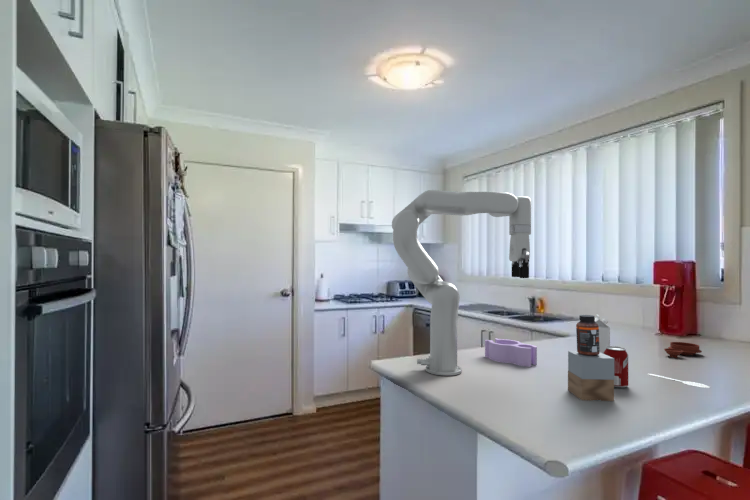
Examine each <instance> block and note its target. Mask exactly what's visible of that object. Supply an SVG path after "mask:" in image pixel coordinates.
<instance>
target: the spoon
mask: <svg viewBox="0 0 750 500" xmlns="http://www.w3.org/2000/svg"><path fill="white" fill-rule="evenodd" d="M647 376H652V377H656V378H661V379H664V380H665V379H666V380H669V381H674V380H675V382H680V383H682V384H684V385H686V386H690V387H695V388H702V389H704V388H705V389H710V388H711V386H709V385H706V384H703V383H699V382H694V381H687V380H685V381H684V380H681V379H680V380H679V379H675V378H672V377H667V376H663V375H658V374H657V373H654V374H653V373H651V372H650V373H647Z"/></svg>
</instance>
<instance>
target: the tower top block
mask: <svg viewBox="0 0 750 500" xmlns="http://www.w3.org/2000/svg"><path fill="white" fill-rule="evenodd" d="M567 354H568V355H567V363H568V364H567V372H568V371H570V372H571V373H573V374H575V375H576V376H578V377H579V378H581V379H602V380H614V358H612V357H610V356H607V355H605V354H603V353H599V354H598V355H595V356H591V355H582V354H579V353H578V352H577V350H568V351H567Z"/></svg>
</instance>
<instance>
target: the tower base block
mask: <svg viewBox="0 0 750 500" xmlns="http://www.w3.org/2000/svg"><path fill="white" fill-rule="evenodd" d="M568 390H569V391H568ZM567 391H568V392H569V393H571V394H572V393H573V395H574V396H575V397H576V398H578V399H579V398H580V399H579V400H581V401H593V400H601V402H602V401H603V402H614V401H615V388H614V380H602V379H581V378H579V377H578V376H576V375H575V374H573V373H571V372H570V371H568V370H567Z"/></svg>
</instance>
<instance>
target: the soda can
mask: <svg viewBox="0 0 750 500" xmlns="http://www.w3.org/2000/svg"><path fill="white" fill-rule="evenodd" d="M604 354H605V355H607V356H610V357H612V358H614V389H615V388H616V389H625V388H628V387H629V354H628V352H627V348H625V347H623V346H616V345H615V346H614V345H610V346H606V350H605V351H604Z"/></svg>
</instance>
